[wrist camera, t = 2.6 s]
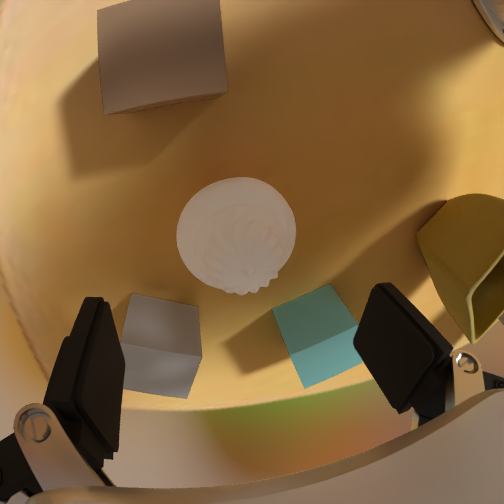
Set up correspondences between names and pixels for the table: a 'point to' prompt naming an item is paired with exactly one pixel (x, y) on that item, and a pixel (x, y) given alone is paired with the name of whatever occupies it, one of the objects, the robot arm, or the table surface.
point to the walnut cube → (160, 53)
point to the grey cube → (161, 346)
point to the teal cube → (318, 335)
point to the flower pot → (467, 260)
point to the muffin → (236, 234)
